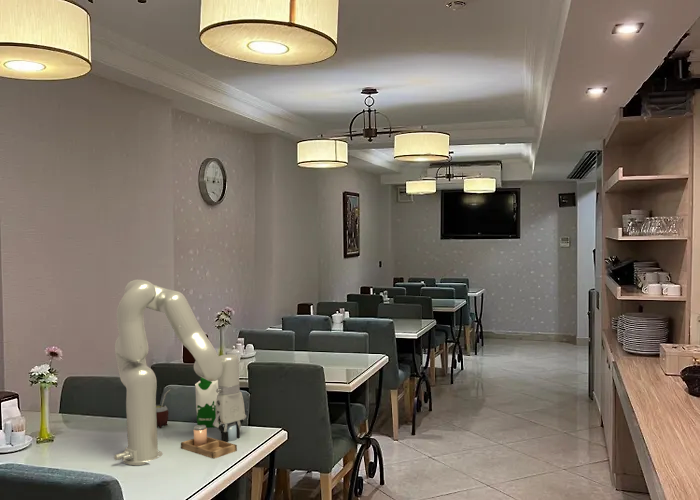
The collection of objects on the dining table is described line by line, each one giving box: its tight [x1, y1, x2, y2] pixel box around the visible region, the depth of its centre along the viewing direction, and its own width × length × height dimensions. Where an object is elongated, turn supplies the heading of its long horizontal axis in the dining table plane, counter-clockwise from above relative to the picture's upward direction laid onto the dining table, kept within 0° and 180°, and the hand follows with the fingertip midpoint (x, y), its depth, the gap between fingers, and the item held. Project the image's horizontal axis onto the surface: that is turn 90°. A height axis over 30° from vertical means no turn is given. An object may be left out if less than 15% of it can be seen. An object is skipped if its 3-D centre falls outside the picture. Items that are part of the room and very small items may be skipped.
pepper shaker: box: [193, 424, 208, 446], centre depth 228 cm, size 4×4×7 cm
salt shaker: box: [227, 422, 238, 442], centre depth 236 cm, size 4×4×7 cm
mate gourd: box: [156, 388, 172, 430], centre depth 260 cm, size 8×8×15 cm
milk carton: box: [194, 377, 220, 429], centre depth 255 cm, size 9×9×20 cm
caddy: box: [180, 436, 238, 459], centre depth 225 cm, size 10×18×3 cm, turn 49°
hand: (230, 439), depth 236 cm, fingers closed on salt shaker, 4 cm apart
